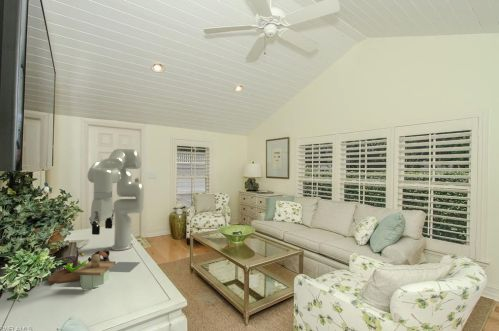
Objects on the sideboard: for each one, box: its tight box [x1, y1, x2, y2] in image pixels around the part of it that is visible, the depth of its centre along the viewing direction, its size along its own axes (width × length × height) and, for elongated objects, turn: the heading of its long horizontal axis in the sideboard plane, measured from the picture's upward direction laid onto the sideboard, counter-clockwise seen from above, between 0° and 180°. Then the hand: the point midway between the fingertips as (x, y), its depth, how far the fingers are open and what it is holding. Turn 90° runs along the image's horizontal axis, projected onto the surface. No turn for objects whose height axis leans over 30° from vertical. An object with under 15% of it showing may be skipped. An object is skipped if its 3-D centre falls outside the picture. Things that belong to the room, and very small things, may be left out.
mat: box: [109, 261, 141, 273], centre depth 127 cm, size 12×12×1 cm
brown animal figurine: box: [87, 249, 111, 262], centre depth 132 cm, size 12×10×8 cm
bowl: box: [79, 269, 110, 290], centre depth 110 cm, size 10×10×6 cm
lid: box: [73, 254, 117, 275], centre depth 111 cm, size 12×12×6 cm
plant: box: [47, 252, 88, 286], centre depth 118 cm, size 20×20×11 cm
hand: (102, 231), depth 114 cm, fingers open, 9 cm apart
